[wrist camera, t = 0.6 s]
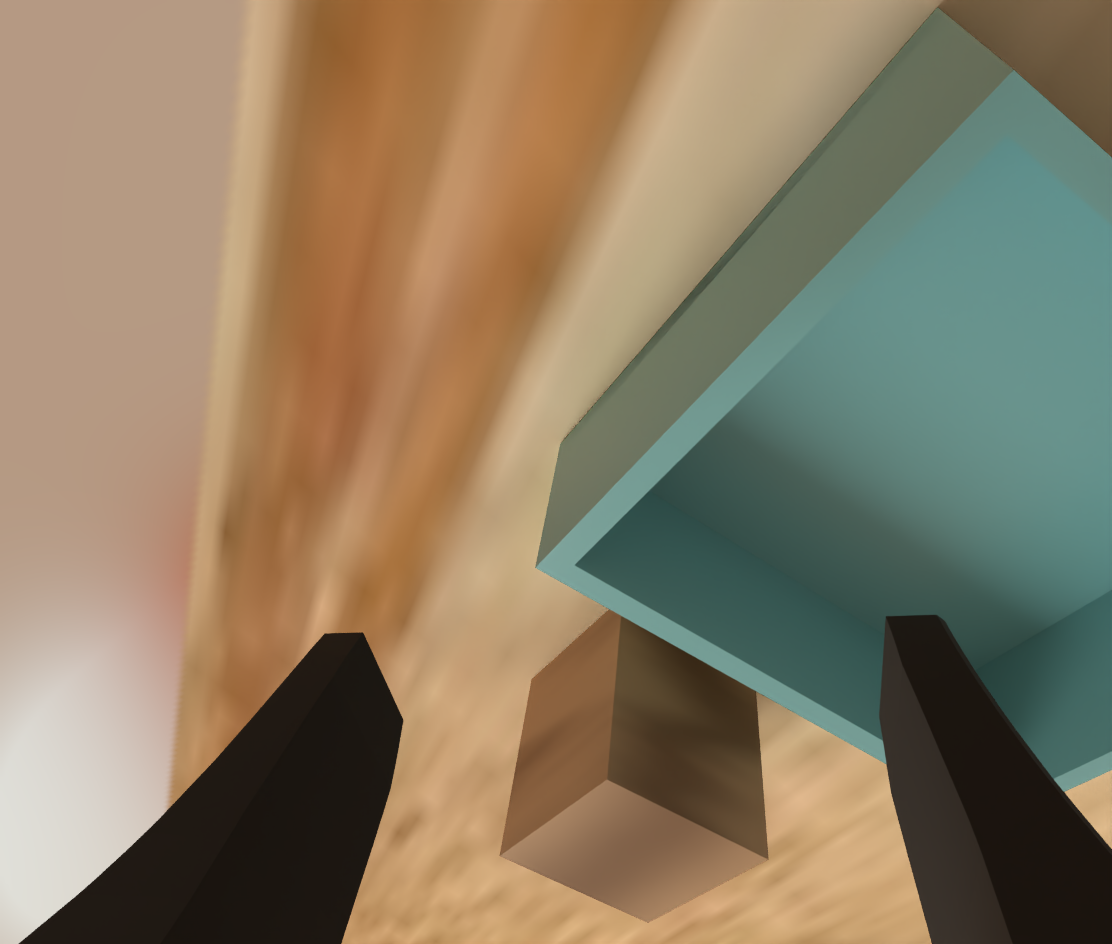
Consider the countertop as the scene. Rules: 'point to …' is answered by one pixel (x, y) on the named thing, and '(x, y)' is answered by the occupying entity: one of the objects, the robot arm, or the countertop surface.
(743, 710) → the walnut block
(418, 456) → the countertop surface
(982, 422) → the teal bin
